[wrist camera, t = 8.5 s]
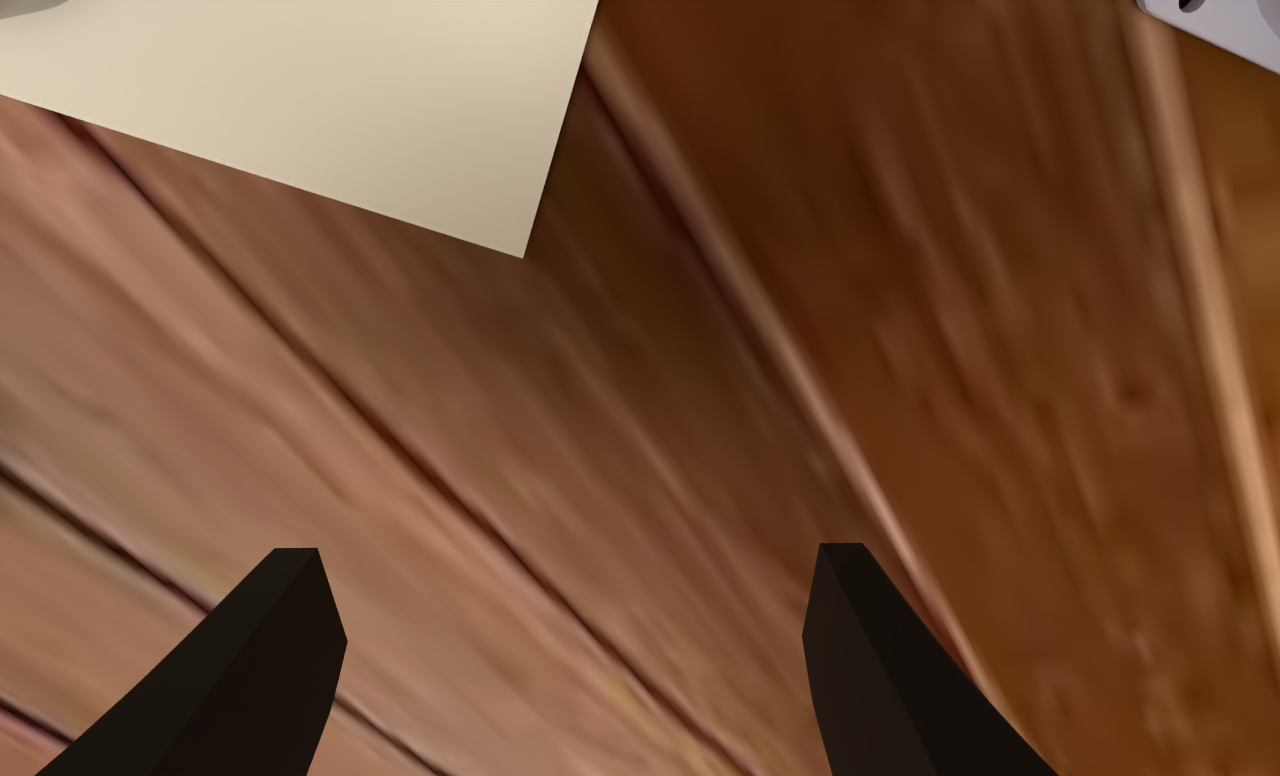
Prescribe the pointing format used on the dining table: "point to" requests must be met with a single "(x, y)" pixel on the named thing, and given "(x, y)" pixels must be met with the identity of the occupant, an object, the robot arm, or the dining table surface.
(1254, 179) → the dining table surface
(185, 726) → the robot arm
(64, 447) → the dining table surface
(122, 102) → the stub board
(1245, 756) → the dining table surface
